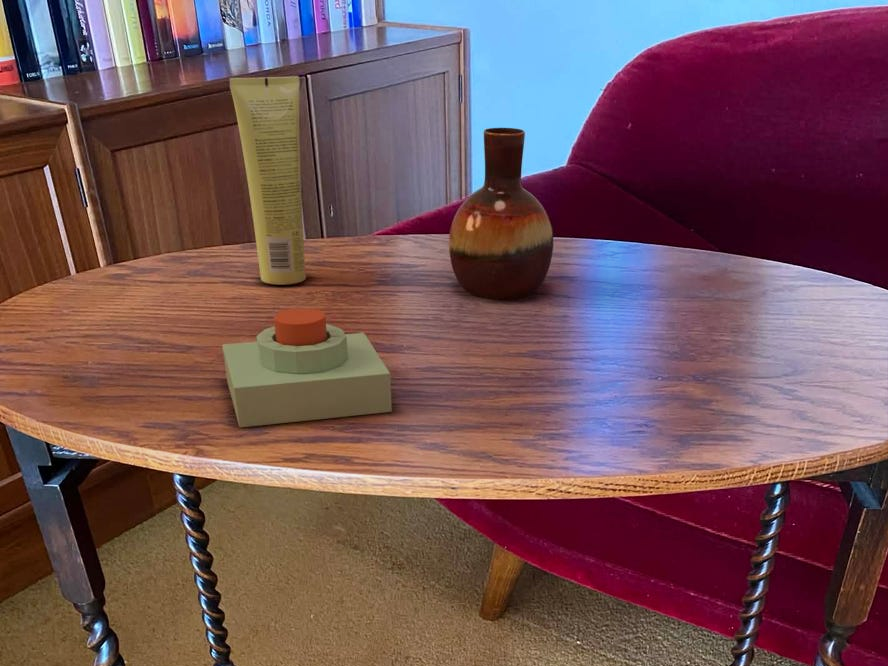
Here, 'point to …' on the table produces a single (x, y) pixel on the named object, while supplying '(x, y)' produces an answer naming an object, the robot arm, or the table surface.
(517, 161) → the vase
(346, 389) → the push button base
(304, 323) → the red push button
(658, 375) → the table surface
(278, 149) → the tube
